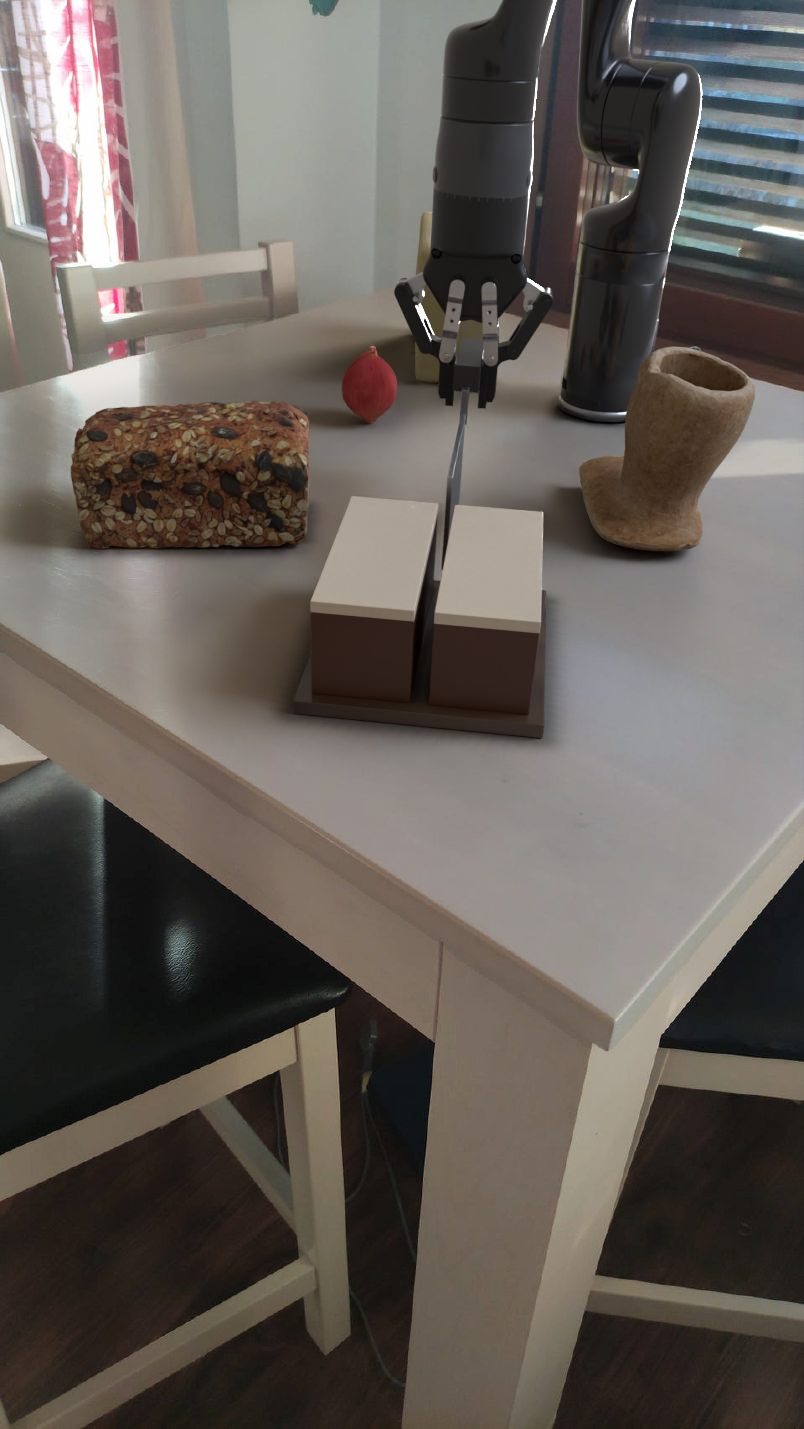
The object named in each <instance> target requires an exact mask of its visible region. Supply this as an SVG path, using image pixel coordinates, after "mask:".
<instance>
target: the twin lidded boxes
mask: <svg viewBox="0 0 804 1429" xmlns="http://www.w3.org/2000/svg"><path fill="white" fill-rule="evenodd" d="M438 516H439V502H438V503H437V502H429V501H427V502H425V501H415V500H404V499H403V500H402V499H390V498H380V497H379V498H378V497H369V496H368V497H366V496H354V495H351V497H350V499H349V502H348V504H347V507H346V509H345V512H344V514H343V516H342V519H341V522H340V525H339V527H338V529H337V532H336V535H335V537H334V539H333V542H332V545H331V548H330V550H329V553H328V555H327V557H326V561H325V563H324V565H323V568H322V570H321V572H320V575H319V578H318V580H317V583H316V585H315V588H314V591H313V593H312V596H311V598H310V602H309V605H310V606H309V610H310V613H309V614H310V654H309V657H308V659H307V662H306V664H305V668H304V670H303V673H302V676H301V678H300V681H299V684H298V686H297V689H296V692H295V695H294V698H293V701H292V705H293V706H292V708H293V711H292V712H293V714H296V715H307V716H316V717H327V718H335V719H336V718H337V719H347V720H356V721H368V722H376V723H377V722H378V723H385V724H388V723H389V724H397V725H407V726H415V727H416V726H417V727H428V728H436V729H446V730H447V729H448V730H457V731H467V732H476V733H486V734H497V735H506V736H516V737H526V738H537V739H543V738H544V732H545V720H546V719H545V718H546V716H545V714H546V712H545V711H546V709H545V708H546V646H547V644H546V641H547V640H546V639H547V637H546V636H547V590H546V589H543V553H544V552H543V551H544V550H543V546H544V544H543V543H544V512H543V511H537V510H536V511H535V510H526V509H525V510H522V509H511V508H501V507H500V508H499V507H488V506H477V505H476V506H475V505H466V504H465V505H464V504H458V505H455V507H454V513H453V518H452V523H451V528H450V534H449V539H448V544H447V550H446V555H445V560H444V565H443V570H441V571H442V572H441V576H440V580H437V579H435V566H436V552H437V551H436V549H437V548H436V547H437V535H438V534H437V533H438V518H439V517H438Z"/></svg>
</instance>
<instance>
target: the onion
mask: <svg viewBox="0 0 804 1429" xmlns="http://www.w3.org/2000/svg"><path fill="white" fill-rule="evenodd" d="M377 351H378V350H377V348H376V346H375V345H370V346H368V349H366V350H365V351H364V352H363V353H362V354H360V355H359V356H357V358H355V359H354V360H353V361H352V362H351V363H350V364H349V365H348V366H347V368H346V369H345V371H344V374H343V376H342V380H341V395H342V400H343V401H344V403H345V405H346V407H348V409H349V410H350V411H352V412H353V413H354V414H355V415H356V416H357V417H359V418H360V419H361V420H363V421H364V422H365V423H367V424H368V423H369V424H373V423H375V422H376V421H377V420H378V419H379V418H380V417H381V416H383V415H384V414H386V413H387V411H389V410H390V409H391V408H392V407H393V405H394V403H395V402H396V400H397V394H398V389H399V388H398V379H397V376H396V373H395V372H394V369H392V367H391V365H389V363H388V362H387V361H386V359H383V358H382V357H381V356H379V355H378V352H377Z"/></svg>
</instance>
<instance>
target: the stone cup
mask: <svg viewBox="0 0 804 1429" xmlns="http://www.w3.org/2000/svg"><path fill="white" fill-rule="evenodd" d="M690 348H691V347H684V346H683V347H682V346H667V347H662V348H659V349H657V350H654V352H653V353H651V354H650V355H649V356H648V357H647V358H646V359H645V360H644V362H643V363H642V364H641V366H640V368H639V371H638V374H637V377H636V380H635V384H634V387H633V390H632V394H631V397H630V401H629V404H628V408H627V412H626V419H625V421H624V452H623V455H605V456H599V457H594V458H590V459H588V460H585V461H583V462H582V463H581V465H580V466H579V469H578V473H579V483H580V488H581V491H582V492H581V493H582V495H583V496H582V497H583V503H584V507H585V509H586V513H587V516H588V518H589V521H590V523H591V526H592V527H593V528H592V529H594V530H595V532H596V534H598V535H599V537H600V538H602V539H603V540H605V541H606V542H609V543H611V544H614V545H615V546H621V547H624V548H629V549H634V550H640V551H648V552H649V551H651V552H678V551H682V550H691V549H693V548H696V547H697V546H698V545H700V542H701V541H702V537H703V520H702V515H701V512H700V509H699V507H698V503H699V500H700V496H701V495H702V493H703V491H704V489H705V488H706V487H707V484H708V482H709V481H710V479H711V478H712V477H713V475H714V474H715V472H716V471H717V469H718V468H719V467H720V466H721V464H722V463H723V462H724V460H725V459H726V458H727V456H728V455H729V453H730V452H731V451H732V449H733V448H734V446H735V445H736V443H737V442H738V440H739V439H740V438H741V436H742V434H743V432H744V430H745V427H746V425H747V423H748V421H749V418H750V416H751V413H752V410H753V406H754V402H755V400H756V399H755V398H756V389H755V384H754V382H753V381H752V380H751V378H750V376H749V375H747V374H746V373H745V372H744V371H743V370H742V369H740V368H739V367H738V366H736V365H735V364H732V363H730V362H729V361H725V360H722V359H721V358H719V357H718V356H716V355H713V354H710V353H707V352H704V351H702V350H701V351H702V352H701V351H698V350H694V349H690Z"/></svg>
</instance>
